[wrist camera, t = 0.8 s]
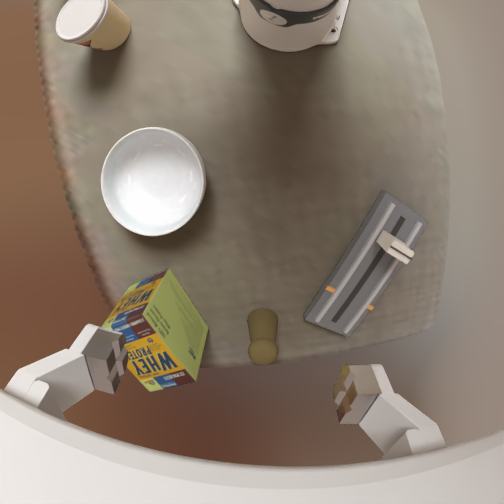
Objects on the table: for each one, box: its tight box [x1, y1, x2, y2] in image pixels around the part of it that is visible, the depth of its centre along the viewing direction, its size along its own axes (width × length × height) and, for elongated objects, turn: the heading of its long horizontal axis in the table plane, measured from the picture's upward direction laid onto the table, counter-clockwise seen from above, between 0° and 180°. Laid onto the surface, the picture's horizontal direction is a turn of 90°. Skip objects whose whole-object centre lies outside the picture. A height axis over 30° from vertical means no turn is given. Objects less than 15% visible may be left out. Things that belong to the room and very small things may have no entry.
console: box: [304, 190, 428, 337], centre depth 52 cm, size 28×11×3 cm, turn 154°
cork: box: [247, 308, 278, 365], centre depth 53 cm, size 6×6×11 cm
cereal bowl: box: [101, 127, 206, 236], centre depth 44 cm, size 17×17×7 cm
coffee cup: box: [56, 0, 131, 50], centre depth 31 cm, size 9×9×12 cm
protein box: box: [102, 268, 209, 392], centre depth 51 cm, size 10×15×16 cm
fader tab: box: [376, 230, 414, 264], centre depth 46 cm, size 2×5×5 cm, turn 64°
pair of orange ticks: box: [325, 285, 374, 310], centre depth 54 cm, size 1×11×1 cm, turn 64°
